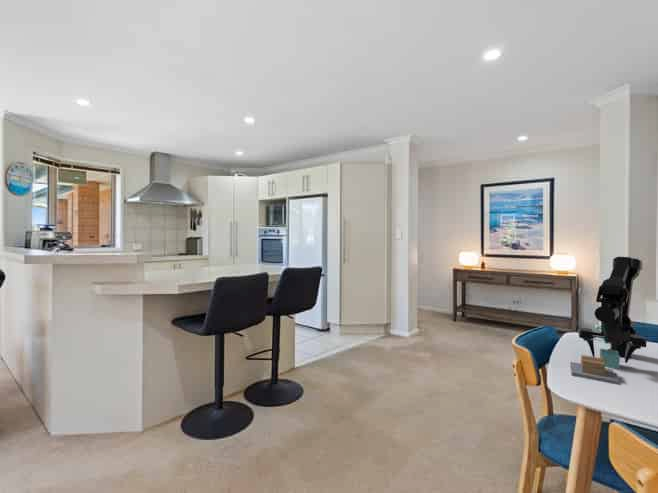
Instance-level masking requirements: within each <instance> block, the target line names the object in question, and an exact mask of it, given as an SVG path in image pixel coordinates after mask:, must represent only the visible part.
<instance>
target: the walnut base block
mask: <svg viewBox="0 0 658 493" xmlns="http://www.w3.org/2000/svg"><path fill="white" fill-rule="evenodd" d="M580 356H581V357H580V358H581V359H580V364H581V369H582V372H586V373H591V374H596V375H602V376H605V368H606V367H605V363H604V360H603V358H600V357H598V356H594V357H593V356H590V355H585V354H581V355H580Z"/></svg>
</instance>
